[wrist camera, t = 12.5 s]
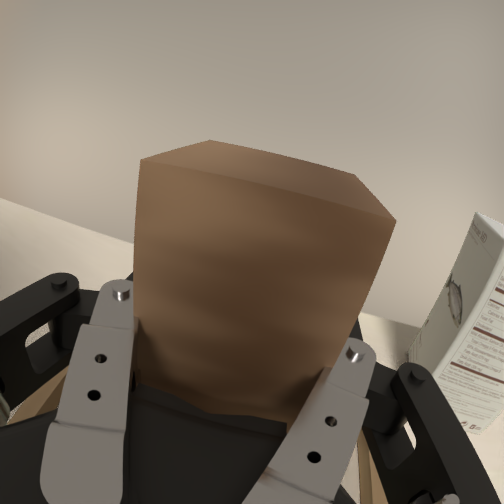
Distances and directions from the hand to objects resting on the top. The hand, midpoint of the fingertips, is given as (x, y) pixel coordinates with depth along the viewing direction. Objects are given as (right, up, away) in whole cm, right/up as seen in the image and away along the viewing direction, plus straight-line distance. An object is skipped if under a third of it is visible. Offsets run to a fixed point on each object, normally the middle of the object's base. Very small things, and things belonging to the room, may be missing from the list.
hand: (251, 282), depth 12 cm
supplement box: (+14, -10, +6) cm, 18 cm away
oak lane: (-4, -13, -10) cm, 17 cm away
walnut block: (-2, -7, +1) cm, 7 cm away
